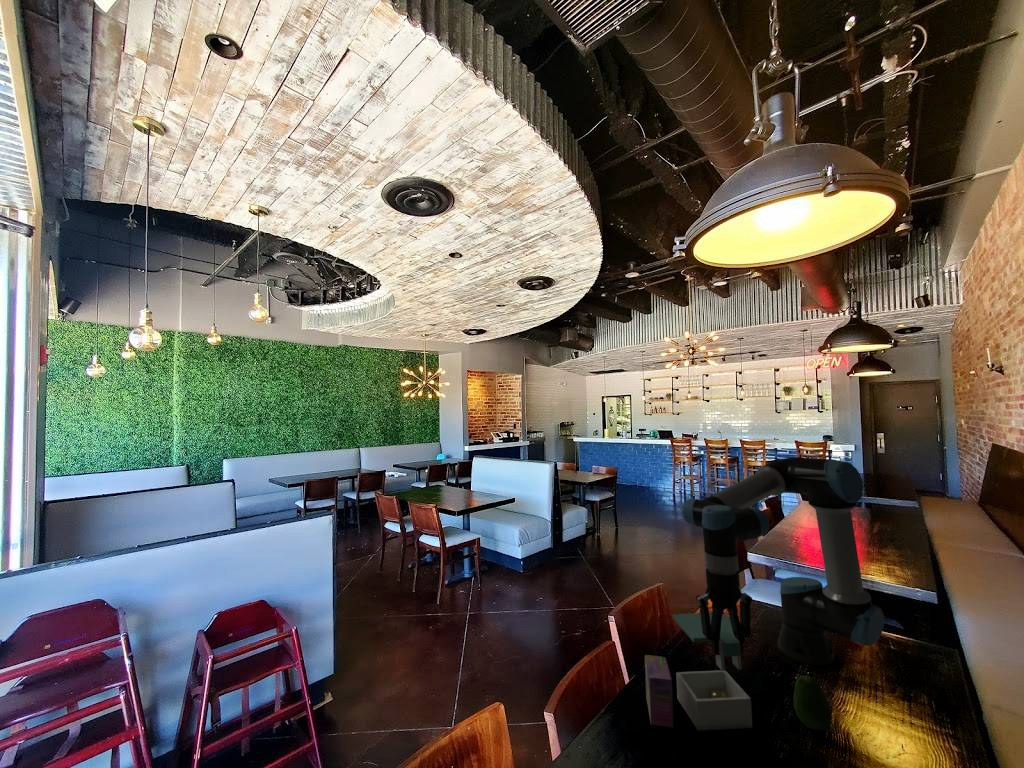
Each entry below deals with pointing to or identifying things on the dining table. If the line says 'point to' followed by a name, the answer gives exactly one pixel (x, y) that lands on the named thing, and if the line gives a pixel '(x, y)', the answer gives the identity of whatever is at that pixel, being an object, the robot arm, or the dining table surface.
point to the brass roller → (718, 694)
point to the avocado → (811, 704)
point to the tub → (713, 700)
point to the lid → (694, 631)
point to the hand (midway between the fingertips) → (728, 666)
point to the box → (659, 691)
